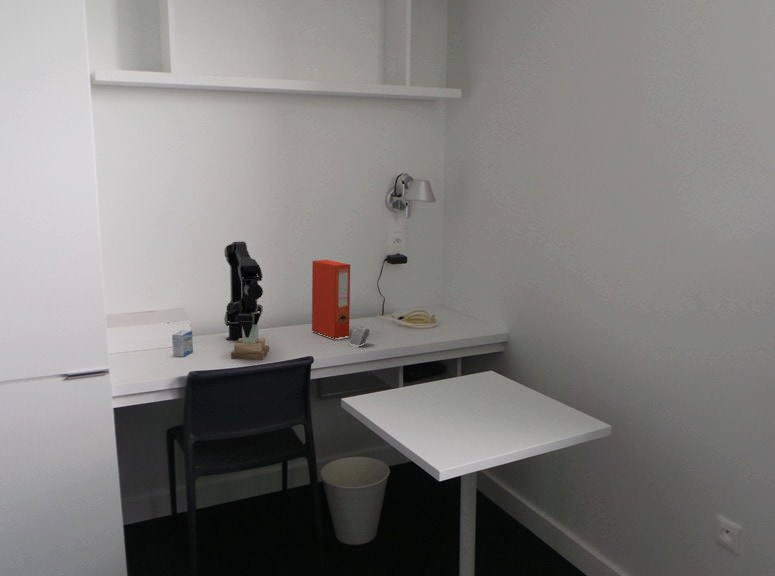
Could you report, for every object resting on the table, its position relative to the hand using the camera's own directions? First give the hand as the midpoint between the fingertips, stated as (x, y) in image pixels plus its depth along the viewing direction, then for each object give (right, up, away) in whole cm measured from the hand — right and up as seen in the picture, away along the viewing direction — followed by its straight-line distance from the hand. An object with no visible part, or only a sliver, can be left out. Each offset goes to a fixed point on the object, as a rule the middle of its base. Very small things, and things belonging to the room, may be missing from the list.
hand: (250, 334), depth 265 cm
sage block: (0, -3, +1) cm, 3 cm away
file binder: (+28, -3, +35) cm, 45 cm away
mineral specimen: (+42, -6, +19) cm, 46 cm away
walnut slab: (0, -9, +2) cm, 9 cm away
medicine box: (-26, -8, +1) cm, 27 cm away
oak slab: (0, -6, +1) cm, 6 cm away
